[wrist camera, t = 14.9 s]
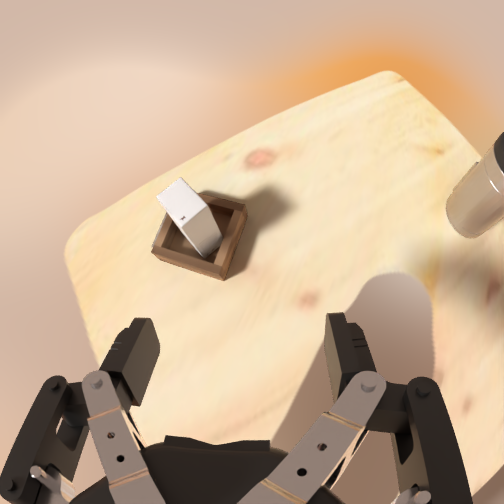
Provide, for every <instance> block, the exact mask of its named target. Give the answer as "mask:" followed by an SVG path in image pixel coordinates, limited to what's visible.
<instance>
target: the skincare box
mask: <svg viewBox="0 0 504 504" xmlns="http://www.w3.org/2000/svg"><path fill="white" fill-rule="evenodd" d="M156 197H157V199H158V200H159V202H160V203H161V205H162V206H163V207H164V209H165V210H166V212H167V213H168V214H169V216H170V217H171V218H172V220H173V221H174V222H175V224H176V225H177V226H178V228H179V229H180V231H181V232H182V233H183V235H184V236H185V237H186V238H187V239H188V241H189V242H190V243H191V244H192V245H193V247H194V248H195V249H196V250H197V251H198V252H199V254H200V255H201V256H202V257H203V258H204V259H205V258H206V257H207V256H209V255H210V254H211V253H212V252H213V251H214V250H216V249H217V248H218V247H219V246H220V245H221V243H222V241H223V237H222V234H221V232H220V230H219V228H218V226H217V224H216V222H215V220H214V218H213V215H212V213H211V211H210V209H209V207H208V205H207V204H206V203H205V202H204V201H203V199H202V198H201V197H200V196H199V195H198V194H197V193H196V192H195V191H194V190H193V189H192V188H191V187H190V186H189V185H188V184H187V183H186V182H185V181H184V180H183V179H182V178H181V177H180V178H179V179H178V180H176V181H175V182H174V183H173V184H171V185H170V186H169V187H168V188H166V189H165V190H164V191H162V192H161V193H160V194H159V195H157V196H156Z"/></svg>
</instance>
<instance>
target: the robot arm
mask: <svg viewBox="0 0 504 504" xmlns="http://www.w3.org/2000/svg"><path fill="white" fill-rule="evenodd" d="M446 211H447V215H448V219H449V221H450V223H451V224H452V226H453V227H454V229H455V230H456V231H457V232H458V233H460V234H461V235H463V236H465V237H467V238H476V237H478V236H479V235H481V234H482V233H484V232H485V231H486V230H488V229H489V228H490V227H492V226H493V225H494V224H496V223H497V222H498V221H500V220H501V219H502V218H503V217H504V132H503V133H502V134H501V135H500V136H499V138H498V139H497V140H496V142H495V143H494V144H493V145H492V147H491V148H490V149H489V151H488V152H487V153H486V154H485V156H484V157H483V158H482V159H481V161H480V162H476V163H475V164H474V165H473V166H472V167H471V169H470V170H469V171H468V172H467V173H466V175H465V176H464V177H463V178H462V179H461V181H460V182H459V183H458V184H457V185H456V186H455V188H454V189H453V193H452V194H451V195H450V197H449V198H448V200H447V204H446ZM324 347H325V355H326V360H327V366H328V371H329V377H330V382H331V388H332V394H333V400H334V405H333V407H332V408H331V409H330V411H328V412H324V413H322V414H321V415H320V417H319V418H318V419H317V420H316V422H315V423H314V424H313V425H312V427H311V428H310V429H309V430H308V432H307V433H306V434H305V435H304V437H303V438H302V439H301V440H300V441H299V442H298V444H297V445H296V446H295V447H294V448H293V449H292V451H291V452H290V453H288V452H285V451H283V450H280V449H277V448H273V447H270V440H243V441H237V442H232V443H227V444H221V445H212V444H208V443H205V442H202V441H198V440H195V439H192V438H187V437H177V436H168V435H166V436H165V440H164V442H161V443H156V444H153V445H150V446H148V447H147V445H146V443H145V441H144V439H143V437H142V435H141V433H140V431H139V429H138V427H137V425H136V423H135V421H134V419H133V416H132V414H131V412H130V411H129V410H130V407H131V405H133V406H140V405H141V403H142V400H143V397H144V394H145V392H146V389H147V386H148V383H149V381H150V378H151V375H152V372H153V370H154V367H155V364H156V362H157V359H158V356H159V353H160V343H159V340H158V337H157V334H156V331H155V328H154V325H153V322H152V320H151V319H150V318H134V319H133V321H132V323H131V325H130V327H129V328H125V329H124V330H122V331H121V332H120V333H119V334H118V335H117V337H116V339H115V341H114V344H113V345H112V346H111V350H109V352H108V354H107V356H106V357H105V359H104V361H103V363H102V365H101V367H100V369H99V371H93V372H91V373H89V374H88V375H87V376H86V377H85V378H84V379H83V381H82V382H76V383H68V382H67V381H66V379H65V378H64V377H62V376H53V377H51V378H49V379H48V380H46V381H45V383H44V384H43V386H42V388H41V390H40V392H39V393H38V395H37V397H36V399H35V401H34V403H33V405H32V407H31V409H30V411H29V413H28V415H27V417H26V419H25V421H24V423H23V425H22V428H21V429H20V432H19V434H18V436H17V438H16V441H15V443H14V445H13V447H12V449H11V452H10V454H9V456H8V459H7V461H6V463H5V466H4V468H3V471H2V473H1V476H0V495H1V496H2V497H3V498H4V499H5V500H7V501H9V502H10V503H11V504H345V503H344V502H343V501H342V500H341V499H340V498H338V497H337V496H336V495H335V494H334V493H333V492H332V491H331V489H332V487H333V486H334V485H335V483H336V482H337V481H338V479H339V478H340V476H341V475H342V473H343V472H344V470H345V468H346V467H347V465H348V463H349V462H350V460H351V459H352V457H353V456H354V454H355V452H356V451H357V449H358V448H359V446H360V445H361V443H362V442H363V440H364V438H365V437H366V435H367V433H368V432H369V430H370V431H378V432H388V433H390V435H391V440H392V446H393V451H394V457H395V463H396V469H397V476H398V483H399V491H400V495H399V496H398V497H397V498H396V499H395V500H394V501H393V502H392V503H391V504H473V502H472V497H471V492H470V488H469V484H468V479H467V475H466V471H465V468H464V464H463V460H462V456H461V453H460V449H459V446H458V443H457V439H456V436H455V433H454V430H453V426H452V423H451V420H450V417H449V414H448V411H447V408H446V406H445V403H444V400H443V397H442V394H441V392H440V389H439V387H438V385H437V383H436V382H435V381H433V380H432V379H429V378H427V377H417V378H414V379H412V380H411V381H410V382H409V383H408V385H403V384H394V383H390V382H387V381H385V379H384V378H383V376H381V375H380V374H378V373H377V371H376V368H375V365H374V362H373V359H372V356H371V353H370V350H369V347H368V344H367V341H366V340H365V336H364V333H363V330H362V329H361V328H360V327H359V326H358V325H357V324H356V323H347V321H346V318H345V315H344V313H343V312H339V313H327V315H326V325H325V338H324ZM61 417H62V418H63V420H62V422H61V425H60V427H59V430H58V432H57V435H56V428H57V426H58V423H59V421H60V418H61ZM89 430H90V431H91V434H92V437H93V440H94V443H95V446H96V449H97V452H98V455H99V457H100V460H101V463H102V466H103V468H104V471H105V474H106V476H105V477H104V478H102V479H101V480H99V481H98V482H96V483H95V484H93V485H92V486H91V487H89V488H88V489H86V490H85V491H83V492H82V493H80V494H79V495H77V496H76V495H75V489H74V486H73V484H72V481H73V478H74V474H75V471H76V468H77V465H78V462H79V459H80V455H81V453H82V450H83V447H84V444H85V441H86V438H87V435H88V432H89Z"/></svg>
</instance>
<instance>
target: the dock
mask: <svg viewBox="0 0 504 504" xmlns="http://www.w3.org/2000/svg"><path fill="white" fill-rule="evenodd" d="M197 194H198V195H199V196H200V197H201V198H202V199H203V201H204V202H205V203H206V204H207V205H208V207H209V209H210V211H211V213H212V215H213V218H214V220H215V222H216V224H217V226H218V228H219V230H220V232H221V234H222V237H223V241H222V243H221V245H220V246H219V247H218V248H217V249H216V250H214V251H213V252H212V253H211V254H210V255H209V256H207V257H206V258H205V259H204V258H203V257H202V256H201V255H200V254H199V252H198V251H197V250H196V249H195V248H194V247H193V245H192V244H191V243H190V242H189V241H188V239H187V238H186V237H185V236H184V235H183V233H182V232H181V231H180V229H179V228H178V226H177V225H176V224H175V222H174V221H173V220H172V218H171V217H170V216H169V214H168V213H166V215H165V217H164V219H163V221H162V224H161V226H160V228H159V231H158V233H157V235H156V237H155V240H154V242H153V244H152V247H153V249H152V251H151V253H153V254H154V255H155V256H156V257H157V258H159V259H160V260H161V261H164V262H167V263H170V264H173V265H176V266H179V267H182V268H185V269H188V270H191V271H194V272H197V273H200V274H203V275H207V276H210V277H213V278H216V279H219V280H222V281H224V280H225V277H226V274H227V271H228V269H229V266H230V263H231V260H232V258H233V255H234V252H235V249H236V247H237V244H238V241H239V238H240V236H241V233H242V230H243V228H244V225H245V222H246V219H247V217H248V215H247V211H246V207H245V205H244V204H240V203H236V202H232V201H228V200H224V199H220V198H216V197H212V196H208V195H204V194H200V193H197Z"/></svg>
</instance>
